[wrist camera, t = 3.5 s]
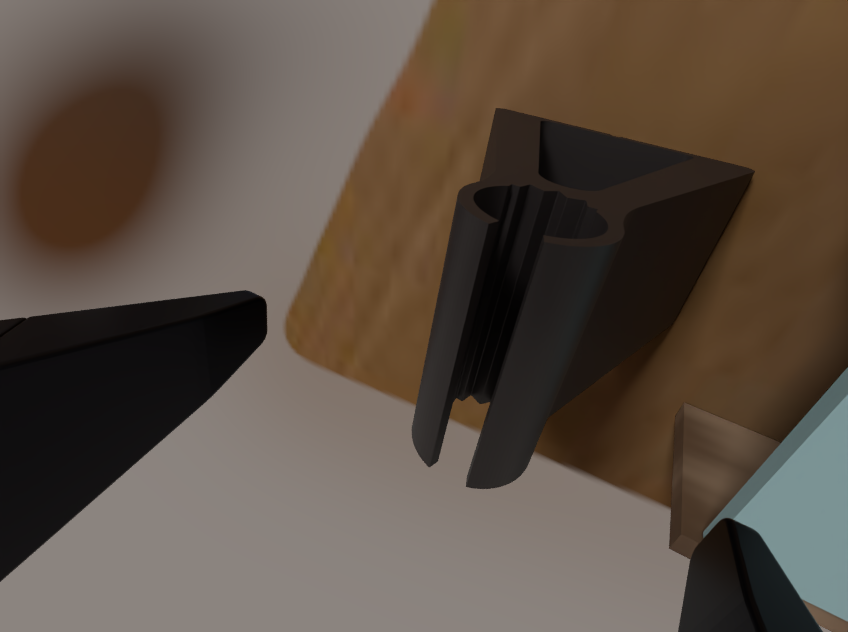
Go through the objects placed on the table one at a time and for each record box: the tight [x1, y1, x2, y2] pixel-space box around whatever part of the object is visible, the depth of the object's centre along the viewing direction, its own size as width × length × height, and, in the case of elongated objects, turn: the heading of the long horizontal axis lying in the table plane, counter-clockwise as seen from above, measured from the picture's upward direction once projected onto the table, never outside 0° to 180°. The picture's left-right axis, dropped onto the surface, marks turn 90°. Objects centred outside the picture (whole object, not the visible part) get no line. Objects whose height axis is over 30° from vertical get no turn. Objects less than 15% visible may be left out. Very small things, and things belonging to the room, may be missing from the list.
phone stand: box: [412, 108, 755, 489], centre depth 13 cm, size 9×6×12 cm, turn 78°
